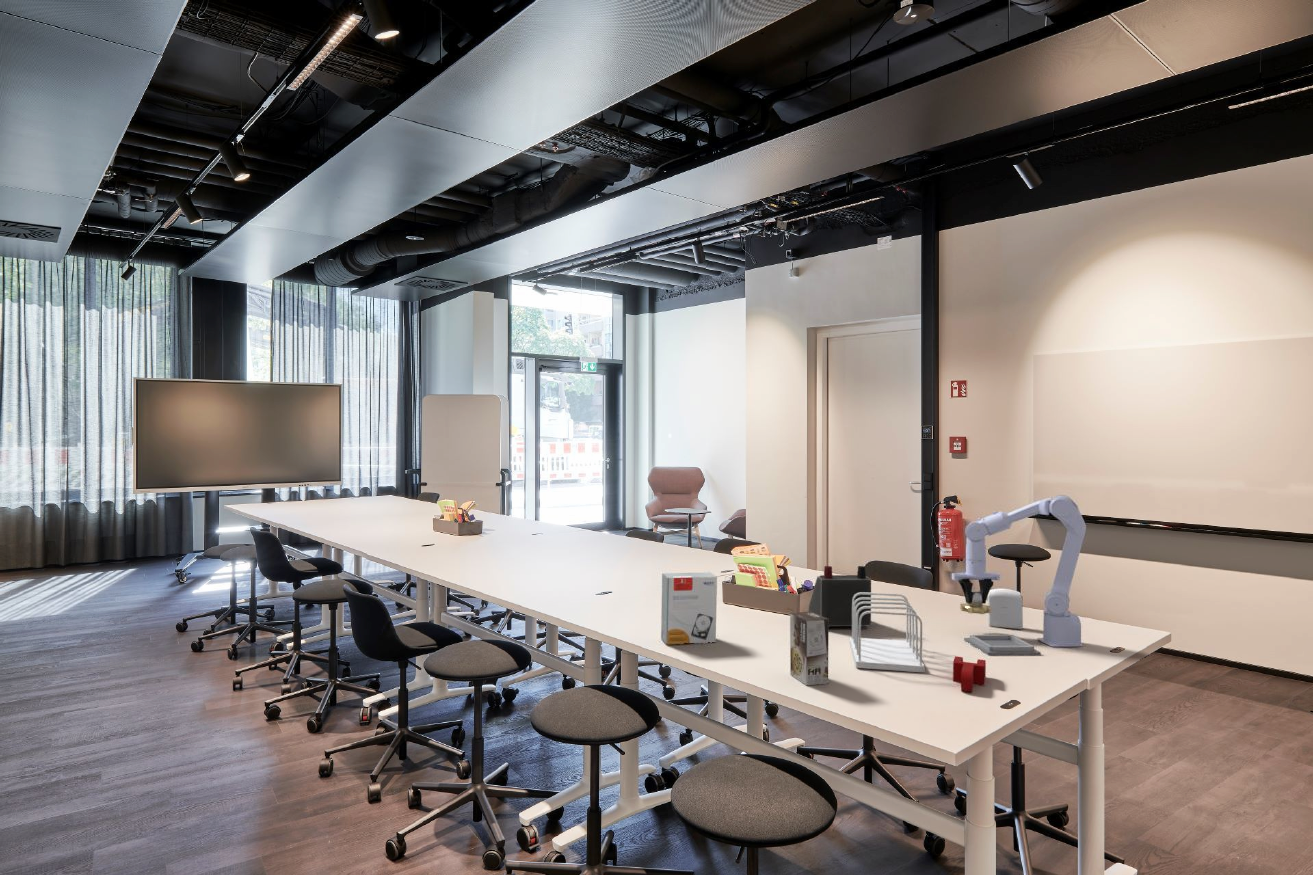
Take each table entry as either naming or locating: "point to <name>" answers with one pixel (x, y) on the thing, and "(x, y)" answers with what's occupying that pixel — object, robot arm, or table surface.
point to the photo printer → (1005, 608)
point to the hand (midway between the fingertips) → (975, 602)
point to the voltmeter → (840, 597)
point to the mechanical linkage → (969, 673)
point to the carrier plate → (1001, 645)
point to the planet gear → (976, 604)
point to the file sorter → (886, 651)
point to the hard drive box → (688, 608)
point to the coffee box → (809, 647)
